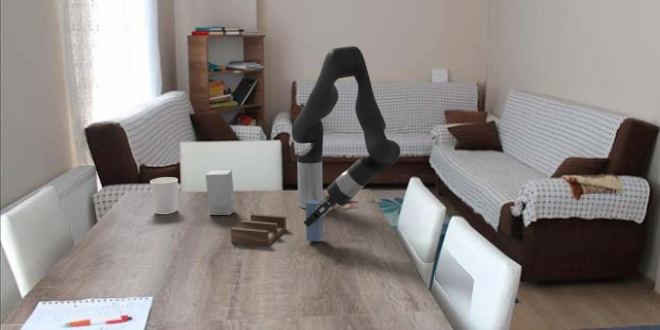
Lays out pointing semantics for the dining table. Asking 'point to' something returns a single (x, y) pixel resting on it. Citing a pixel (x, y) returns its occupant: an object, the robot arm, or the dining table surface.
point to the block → (317, 227)
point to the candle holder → (165, 194)
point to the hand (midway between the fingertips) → (308, 222)
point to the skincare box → (220, 192)
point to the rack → (259, 230)
